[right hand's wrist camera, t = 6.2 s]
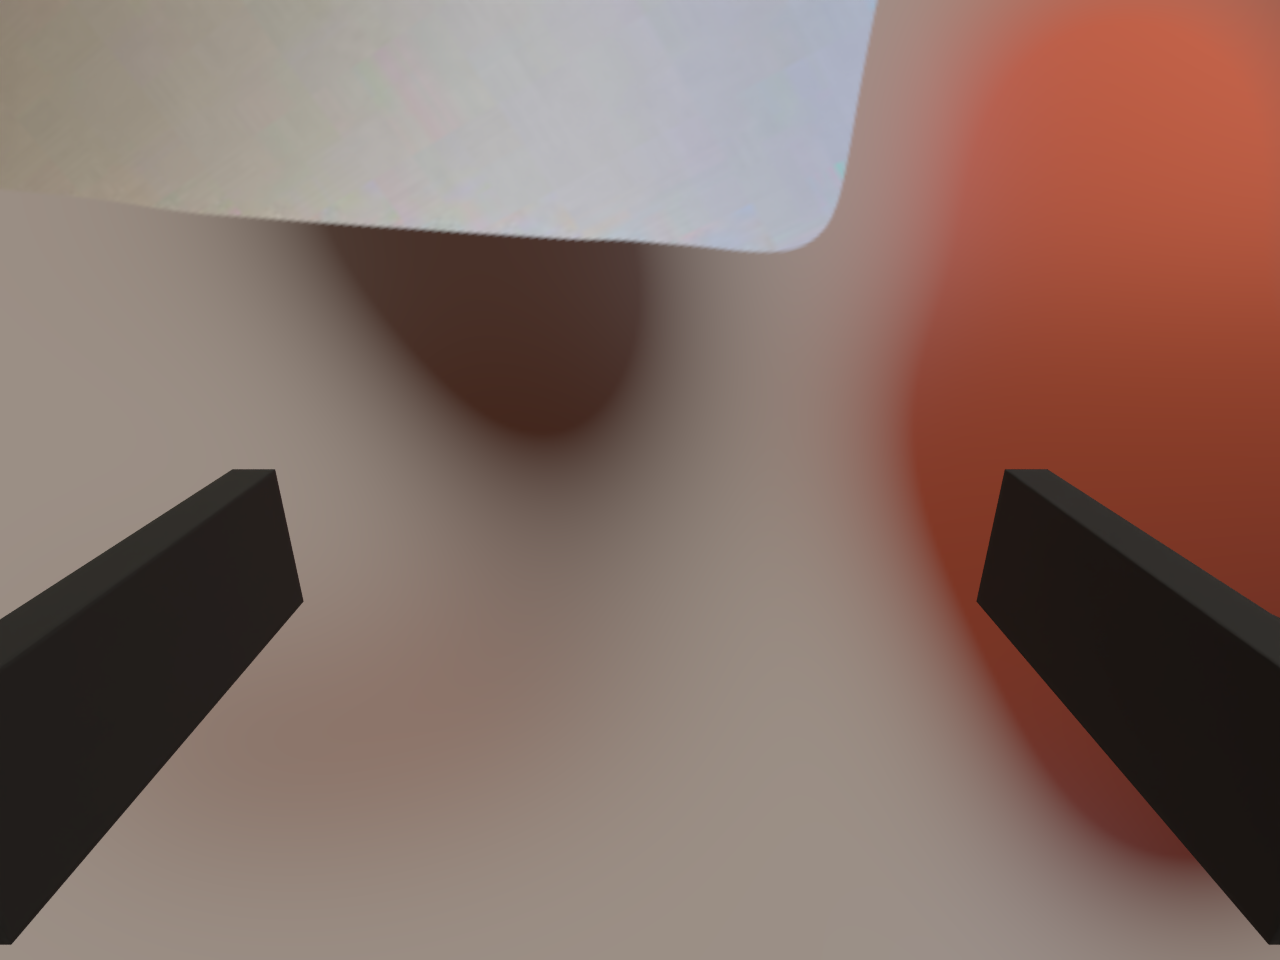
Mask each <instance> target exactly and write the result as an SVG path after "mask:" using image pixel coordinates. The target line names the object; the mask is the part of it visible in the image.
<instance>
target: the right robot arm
mask: <svg viewBox="0 0 1280 960" xmlns="http://www.w3.org/2000/svg"><path fill="white" fill-rule="evenodd" d="M977 602H978V604H979V605H980V606H981V607H982V608H983V610H984V611H985V612H986V613H987V614H988V615H989V617H990V618H991V619H992V620H993V621H994V622H995V624H996V625H997V626H998V627H999V628H1000V630H1001V631H1002V632H1003V633H1004V634H1005V635H1006V637H1007V638H1008V639H1009V640H1010V641H1011V642H1012V644H1013V645H1014V646H1015V647H1016V648H1017V649H1018V651H1019V652H1020V653H1021V654H1022V655H1023V656H1024V658H1025V659H1026V660H1027V661H1028V662H1029V663H1030V665H1031V666H1032V667H1033V668H1034V669H1035V671H1036V672H1037V673H1038V674H1039V675H1040V676H1041V678H1042V679H1043V680H1044V681H1045V682H1046V684H1047V685H1048V686H1049V687H1050V688H1051V689H1052V691H1053V692H1054V693H1055V694H1056V695H1057V696H1058V698H1059V699H1060V700H1061V701H1062V702H1063V704H1064V705H1065V706H1066V707H1067V708H1068V709H1069V711H1070V712H1071V713H1072V714H1073V715H1074V716H1075V718H1076V719H1077V720H1078V721H1079V722H1080V723H1081V725H1082V726H1083V727H1084V728H1085V729H1086V731H1087V732H1088V733H1089V734H1090V735H1091V736H1092V738H1093V739H1094V740H1095V741H1096V742H1097V743H1098V745H1099V746H1100V747H1101V748H1102V749H1103V751H1104V752H1105V753H1106V754H1107V755H1108V756H1109V758H1110V759H1111V760H1112V761H1113V762H1114V763H1115V765H1116V766H1117V767H1118V768H1119V769H1120V770H1121V772H1122V773H1123V774H1124V775H1125V776H1126V777H1127V779H1128V780H1129V781H1130V782H1131V783H1132V785H1133V786H1134V787H1135V788H1136V789H1137V790H1138V792H1139V793H1140V794H1141V795H1142V796H1143V797H1144V799H1145V800H1146V801H1147V802H1148V803H1149V805H1150V806H1151V807H1152V808H1153V809H1154V810H1155V812H1156V813H1157V814H1158V815H1159V816H1160V817H1161V819H1162V820H1163V821H1164V822H1165V823H1166V824H1167V826H1168V827H1169V828H1170V829H1171V830H1172V832H1173V833H1174V834H1175V835H1176V836H1177V837H1178V839H1179V840H1180V841H1181V842H1182V843H1183V844H1184V846H1185V847H1186V848H1187V849H1188V850H1189V851H1190V853H1191V854H1192V855H1193V856H1194V857H1195V859H1196V860H1197V861H1198V862H1199V863H1200V864H1201V866H1202V867H1203V868H1204V869H1205V870H1206V871H1207V873H1208V874H1209V875H1210V876H1211V877H1212V879H1213V880H1214V881H1215V882H1216V883H1217V884H1218V886H1219V887H1220V888H1221V889H1222V890H1223V891H1224V893H1225V894H1226V895H1227V896H1228V897H1229V898H1230V900H1231V901H1232V902H1233V903H1234V904H1235V906H1236V907H1237V908H1238V909H1239V910H1240V911H1241V913H1242V914H1243V915H1244V916H1245V917H1246V918H1247V920H1248V921H1249V922H1250V923H1251V924H1252V925H1253V927H1254V928H1255V929H1256V930H1257V931H1258V933H1259V934H1260V935H1261V936H1262V937H1263V938H1264V940H1265V941H1266V942H1267V943H1268V944H1269V945H1280V618H1279V617H1277V616H1275V615H1272V614H1270V613H1269V612H1267V611H1266V610H1264V609H1263V608H1261V607H1260V606H1258V605H1257V604H1255V603H1253V602H1252V601H1250V600H1249V599H1247V598H1246V597H1244V596H1243V595H1241V594H1240V593H1238V592H1236V591H1235V590H1233V589H1232V588H1230V587H1229V586H1227V585H1226V584H1224V583H1222V582H1221V581H1219V580H1218V579H1216V578H1215V577H1213V576H1212V575H1210V574H1209V573H1207V572H1205V571H1204V570H1202V569H1201V568H1199V567H1198V566H1196V565H1195V564H1193V563H1192V562H1190V561H1188V560H1187V559H1185V558H1184V557H1182V556H1181V555H1179V554H1178V553H1176V552H1174V551H1173V550H1171V549H1170V548H1168V547H1167V546H1165V545H1164V544H1162V543H1161V542H1159V541H1157V540H1156V539H1154V538H1153V537H1151V536H1150V535H1148V534H1147V533H1145V532H1143V531H1142V530H1140V529H1139V528H1137V527H1136V526H1134V525H1133V524H1131V523H1130V522H1128V521H1127V520H1125V519H1123V518H1122V517H1120V516H1119V515H1117V514H1116V513H1114V512H1113V511H1111V510H1109V509H1108V508H1106V507H1105V506H1103V505H1102V504H1100V503H1099V502H1097V501H1096V500H1094V499H1092V498H1091V497H1089V496H1088V495H1086V494H1085V493H1083V492H1082V491H1080V490H1078V489H1077V488H1075V487H1074V486H1072V485H1071V484H1069V483H1068V482H1066V481H1065V480H1063V479H1062V478H1060V477H1058V476H1057V475H1055V474H1054V473H1052V472H1051V471H1049V470H1047V469H1027V470H1026V469H1006V470H1005V472H1004V476H1003V481H1002V486H1001V490H1000V495H999V499H998V504H997V509H996V513H995V518H994V523H993V528H992V532H991V537H990V541H989V546H988V551H987V555H986V560H985V565H984V569H983V574H982V578H981V583H980V588H979V592H978V597H977ZM302 603H303V597H302V592H301V588H300V583H299V578H298V574H297V569H296V564H295V560H294V555H293V551H292V546H291V541H290V537H289V532H288V527H287V523H286V518H285V513H284V509H283V504H282V499H281V495H280V490H279V485H278V481H277V476H276V472H275V470H274V469H270V470H269V469H260V470H259V469H239V470H238V469H233V470H231V471H229V472H228V473H226V474H225V475H223V476H222V477H220V478H219V479H217V480H215V481H214V482H212V483H211V484H209V485H208V486H206V487H205V488H203V489H201V490H200V491H198V492H197V493H195V494H194V495H192V496H191V497H189V498H188V499H186V500H185V501H183V502H181V503H180V504H178V505H177V506H175V507H174V508H172V509H170V510H169V511H167V512H166V513H164V514H163V515H161V516H160V517H158V518H157V519H155V520H153V521H152V522H150V523H149V524H147V525H146V526H144V527H143V528H141V529H140V530H138V531H136V532H135V533H133V534H132V535H130V536H129V537H127V538H126V539H124V540H123V541H121V542H119V543H118V544H116V545H115V546H113V547H112V548H110V549H109V550H107V551H105V552H104V553H102V554H101V555H99V556H98V557H96V558H95V559H93V560H92V561H90V562H88V563H87V564H85V565H84V566H82V567H81V568H79V569H78V570H76V571H75V572H73V573H71V574H70V575H68V576H67V577H65V578H64V579H62V580H61V581H59V582H58V583H56V584H54V585H53V586H51V587H50V588H48V589H47V590H45V591H44V592H42V593H41V594H39V595H37V596H36V597H34V598H33V599H31V600H30V601H28V602H27V603H25V604H23V605H22V606H20V607H19V608H17V609H16V610H14V611H13V612H11V613H10V614H8V615H6V616H5V617H3V618H2V619H0V945H11V944H12V943H13V942H14V941H15V939H16V938H17V937H18V936H19V935H20V934H21V932H22V931H23V930H24V929H25V928H26V927H27V925H28V924H29V923H30V922H31V921H32V920H33V918H34V917H35V916H36V915H37V914H38V913H39V911H40V910H41V909H42V908H43V907H44V905H45V904H46V903H47V902H48V901H49V900H50V898H51V897H52V896H53V895H54V894H55V893H56V891H57V890H58V889H59V888H60V887H61V885H62V884H63V883H64V882H65V881H66V880H67V879H68V877H69V876H70V875H71V874H72V873H73V871H74V870H75V869H76V868H77V867H78V866H79V864H80V863H81V862H82V861H83V860H84V859H85V857H86V856H87V855H88V854H89V853H90V851H91V850H92V849H93V848H94V847H95V846H96V844H97V843H98V842H99V841H100V840H101V839H102V837H103V836H104V835H105V834H106V833H107V832H108V830H109V829H110V828H111V827H112V826H113V824H114V823H115V822H116V821H117V820H118V819H119V817H120V816H121V815H122V814H123V813H124V812H125V810H126V809H127V808H128V807H129V806H130V805H131V803H132V802H133V801H134V800H135V799H136V797H137V796H138V795H139V794H140V793H141V792H142V790H143V789H144V788H145V787H146V786H147V785H148V783H149V782H150V781H151V780H152V779H153V778H154V776H155V775H156V774H157V773H158V772H159V770H160V769H161V768H162V767H163V766H164V765H165V763H166V762H167V761H168V760H169V759H170V758H171V756H172V755H173V754H174V753H175V752H176V751H177V749H178V748H179V747H180V746H181V745H182V743H183V742H184V741H185V740H186V739H187V738H188V736H189V735H190V734H191V733H192V732H193V731H194V729H195V728H196V727H197V726H198V725H199V723H200V722H201V721H202V720H203V719H204V718H205V716H206V715H207V714H208V713H209V712H210V711H211V709H212V708H213V707H214V706H215V705H216V704H217V702H218V701H219V700H220V699H221V698H222V696H223V695H224V694H225V693H226V692H227V691H228V689H229V688H230V687H231V686H232V685H233V684H234V682H235V681H236V680H237V679H238V678H239V676H240V675H241V674H242V673H243V672H244V671H245V669H246V668H247V667H248V666H249V665H250V664H251V662H252V661H253V660H254V659H255V658H256V656H257V655H258V654H259V653H260V652H261V651H262V650H263V648H264V647H265V646H266V645H267V644H268V642H269V641H270V640H271V639H272V638H273V637H274V635H275V634H276V633H277V632H278V631H279V630H280V628H281V627H282V626H283V625H284V624H285V623H286V621H287V620H288V619H289V618H290V617H291V615H292V614H293V613H294V612H295V611H296V610H297V608H298V607H299V606H300V605H301V604H302Z"/></svg>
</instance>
